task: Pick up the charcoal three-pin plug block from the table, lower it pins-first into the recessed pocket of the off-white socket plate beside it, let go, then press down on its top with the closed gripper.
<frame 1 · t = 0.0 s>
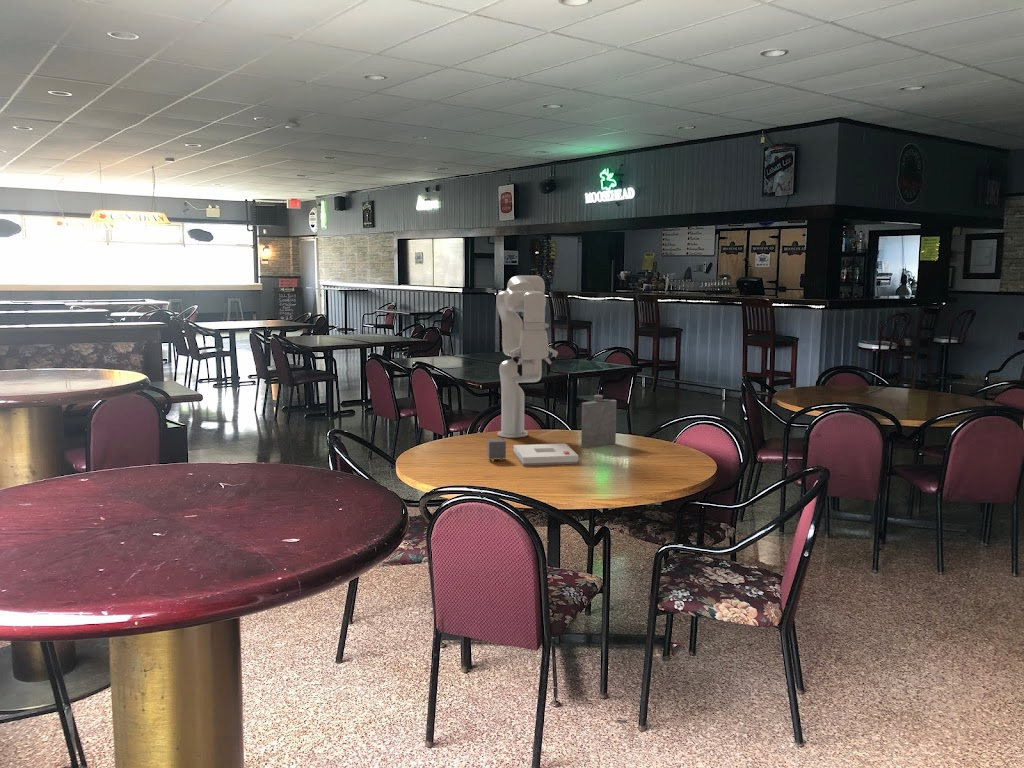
hand: (533, 375, 286), 31 cm above the table, tool pointing down, fingers open, 9 cm apart
hip flask: (597, 445, 316), on the table
plug: (496, 459, 291), on the table
socket: (545, 458, 294), on the table
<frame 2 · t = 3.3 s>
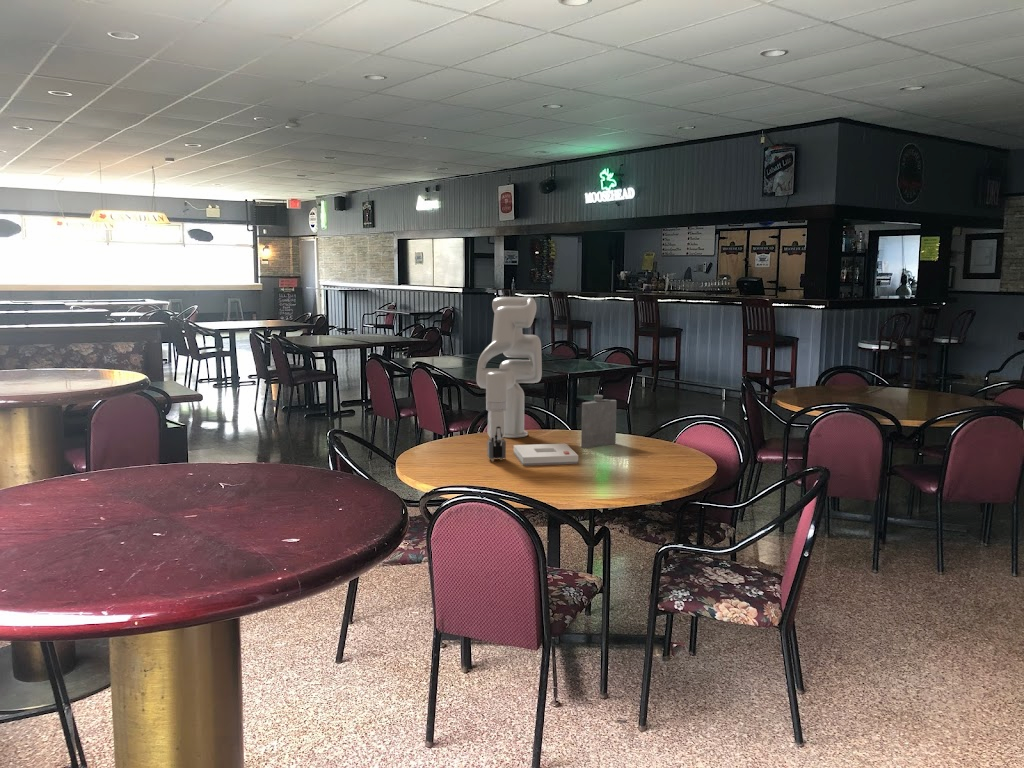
hand: (496, 454, 291), 2 cm above the table, tool pointing down, fingers closed on plug, 5 cm apart
plug: (496, 459, 291), on the table, touching gripper
everything else where it was.
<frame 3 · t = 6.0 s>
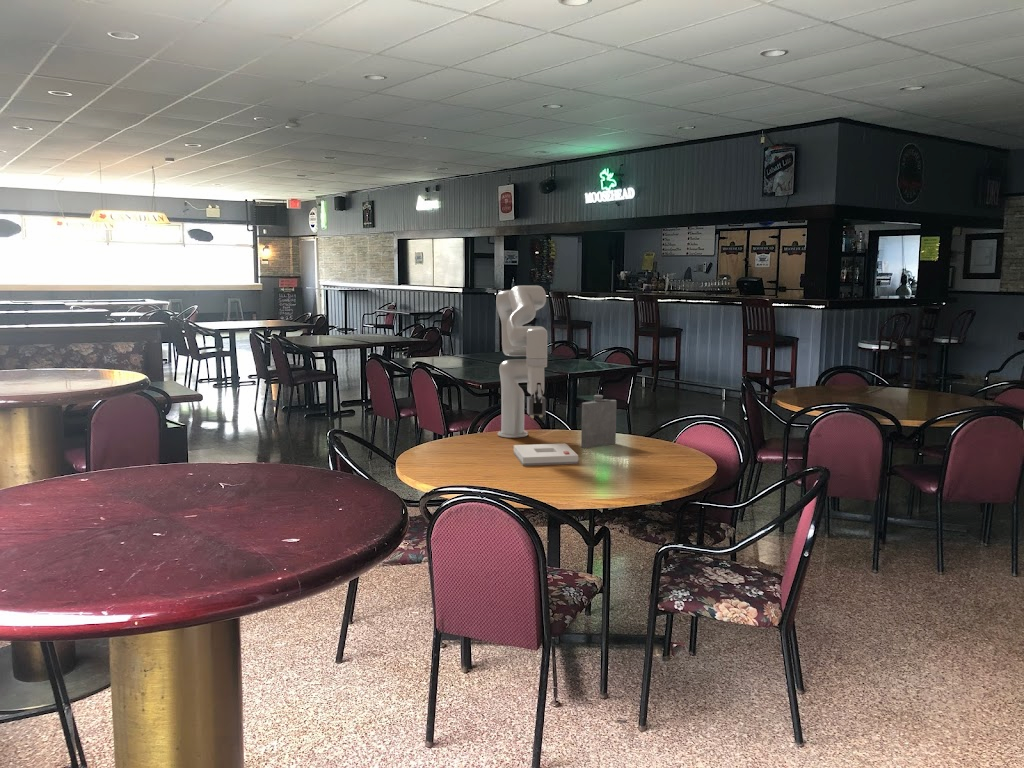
hand: (536, 411, 291), 17 cm above the table, tool pointing down, fingers closed on plug, 5 cm apart
plug: (536, 417, 291), point 15 cm above the table, touching gripper
everything else where it was.
when the fingers open (4 cm above the table, at t = 9.2 s): plug drops 1 cm, resting on socket.
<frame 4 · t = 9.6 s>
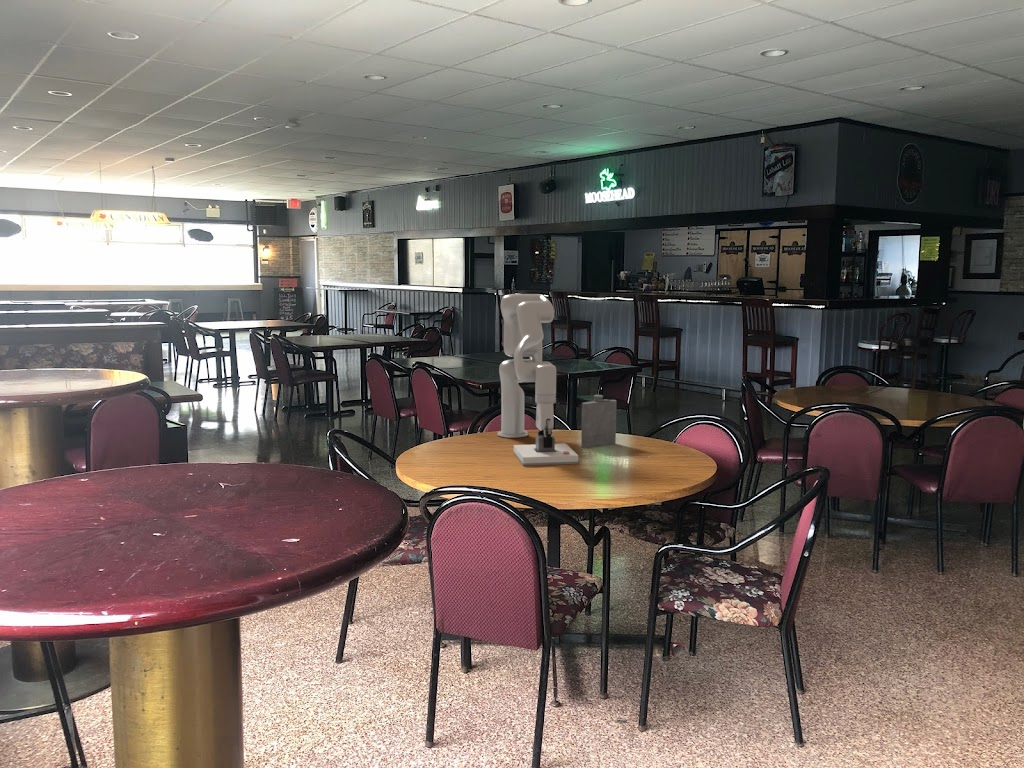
hand: (545, 444, 293), 5 cm above the table, tool pointing down, fingers open, 9 cm apart
plug: (545, 455, 294), point 1 cm above the table, touching socket
everything else where it was.
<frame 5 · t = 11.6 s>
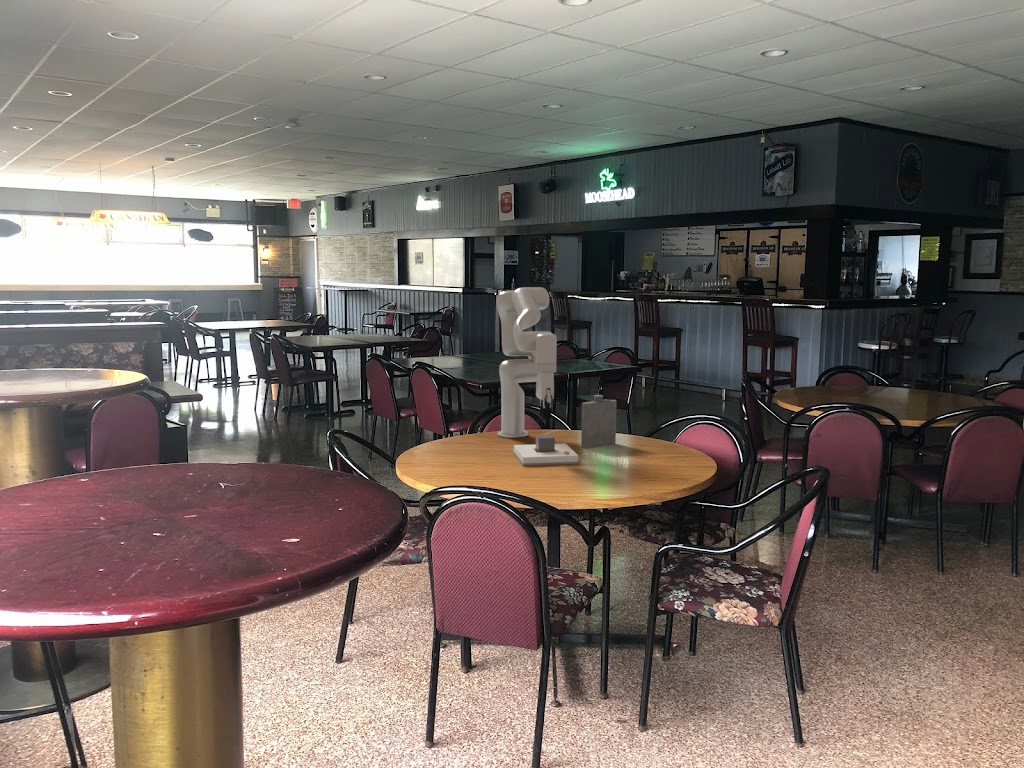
hand: (545, 417, 292), 15 cm above the table, tool pointing down, fingers open, 3 cm apart
nothing on the table moved.
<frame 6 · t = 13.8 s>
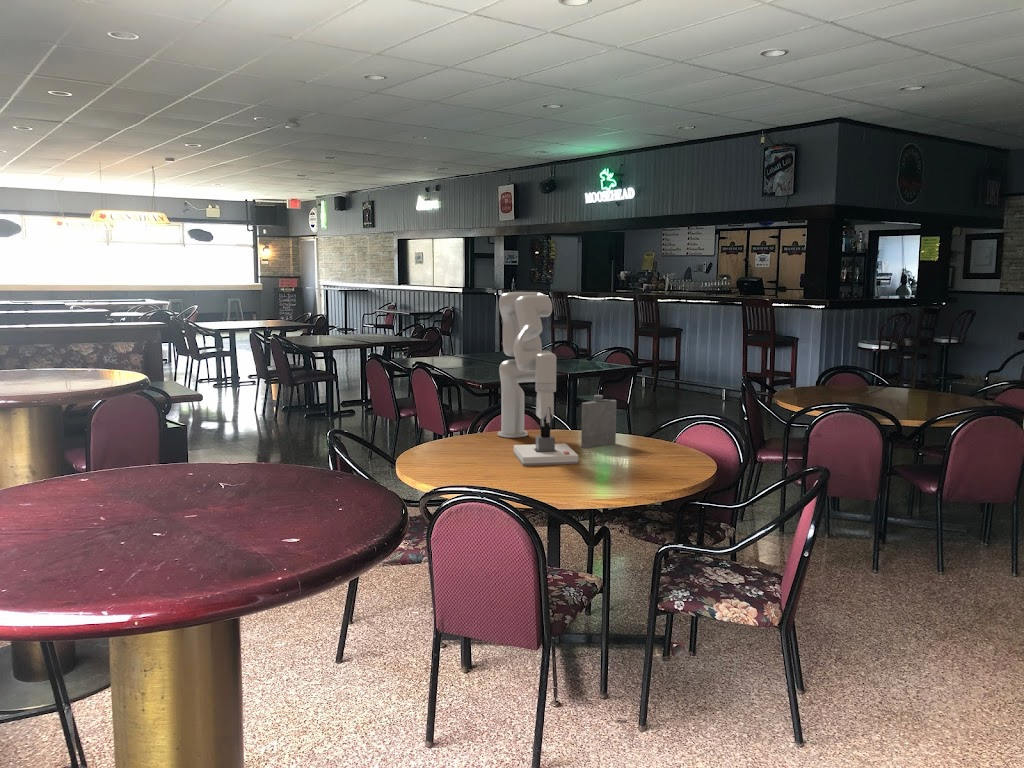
hand: (545, 436, 293), 8 cm above the table, tool pointing down, fingers closed
plug: (545, 455, 294), point 1 cm above the table, touching gripper, socket
everything else where it was.
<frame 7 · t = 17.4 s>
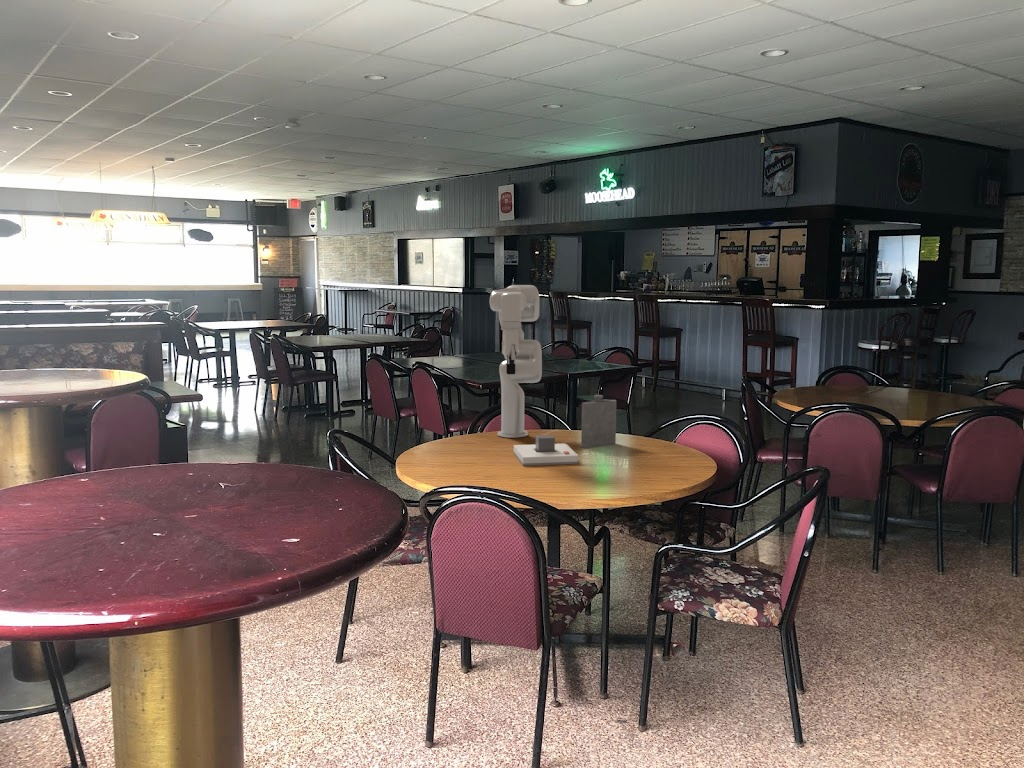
hand: (510, 373, 305), 29 cm above the table, tool pointing down, fingers closed
plug: (545, 455, 294), point 1 cm above the table, touching socket
everything else where it was.
at the end: plug 0.1 cm off-centre on the socket, point 0.8 cm above the socket's base; plug tilted 0°; the gripper is holding nothing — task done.
